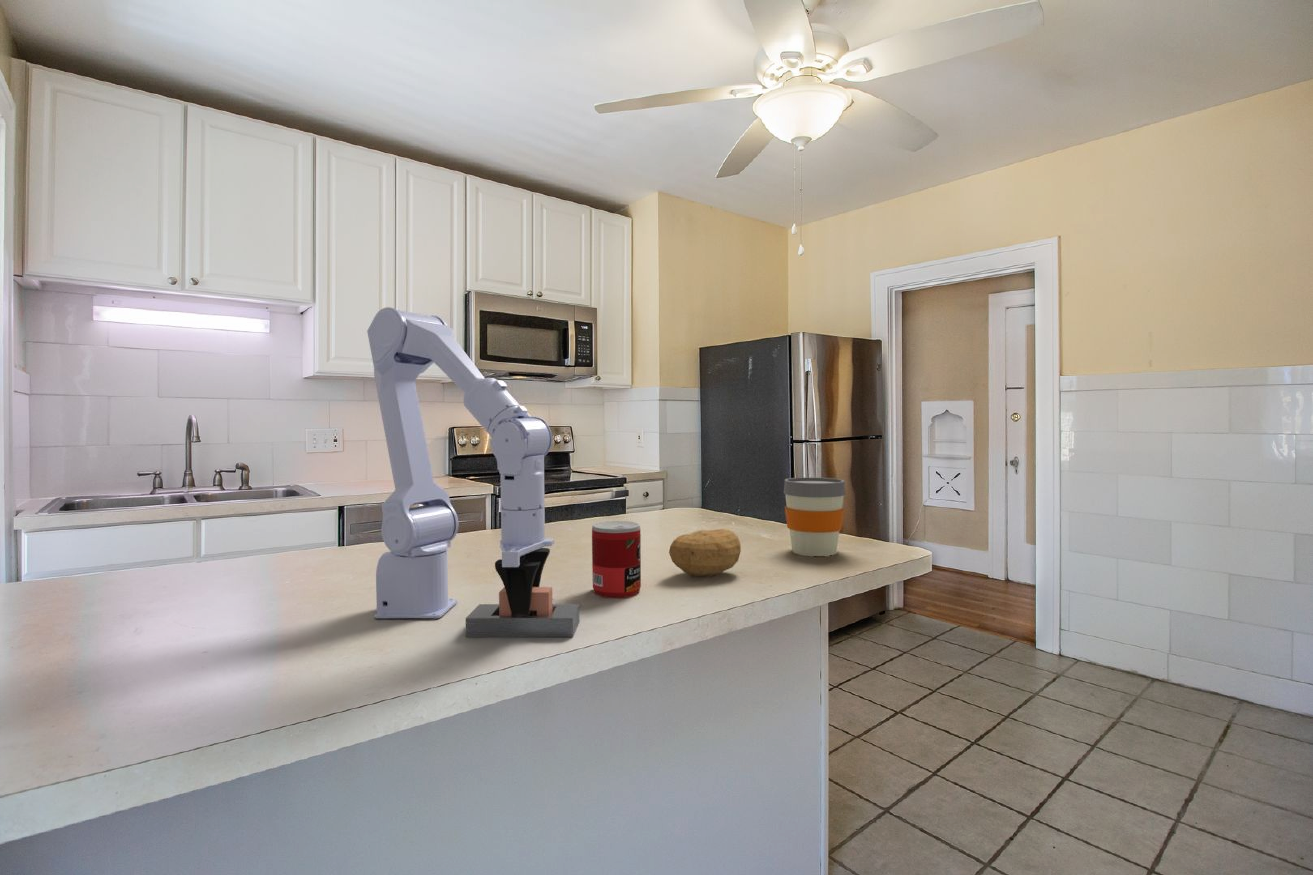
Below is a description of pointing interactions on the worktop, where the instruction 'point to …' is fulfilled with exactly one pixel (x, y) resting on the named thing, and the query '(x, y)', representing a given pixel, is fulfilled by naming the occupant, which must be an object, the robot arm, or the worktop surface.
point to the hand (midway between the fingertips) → (524, 607)
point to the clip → (539, 602)
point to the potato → (705, 552)
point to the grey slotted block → (522, 622)
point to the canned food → (616, 558)
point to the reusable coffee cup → (814, 514)
